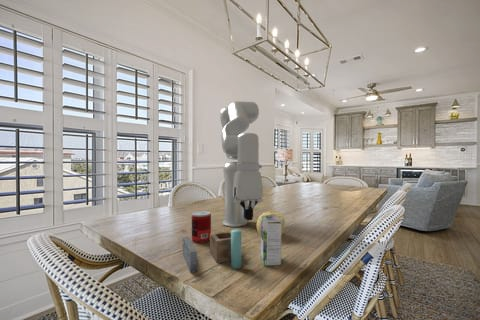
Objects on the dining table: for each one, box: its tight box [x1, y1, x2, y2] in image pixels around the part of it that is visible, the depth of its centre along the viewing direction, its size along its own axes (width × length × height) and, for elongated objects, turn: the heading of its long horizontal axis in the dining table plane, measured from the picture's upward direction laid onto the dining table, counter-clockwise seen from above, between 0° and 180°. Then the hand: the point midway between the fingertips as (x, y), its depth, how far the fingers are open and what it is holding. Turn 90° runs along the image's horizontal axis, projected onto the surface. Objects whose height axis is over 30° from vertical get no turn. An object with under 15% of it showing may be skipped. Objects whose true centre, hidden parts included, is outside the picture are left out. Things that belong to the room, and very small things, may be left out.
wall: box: [182, 236, 198, 274], centre depth 75 cm, size 2×14×6 cm, turn 23°
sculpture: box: [256, 211, 286, 237], centre depth 99 cm, size 12×12×11 cm
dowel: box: [230, 229, 242, 270], centre depth 72 cm, size 3×3×11 cm
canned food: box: [191, 210, 212, 244], centre depth 96 cm, size 8×8×11 cm
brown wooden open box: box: [209, 230, 231, 264], centre depth 79 cm, size 8×8×7 cm
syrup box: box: [260, 215, 282, 267], centre depth 75 cm, size 6×6×14 cm
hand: (248, 219), depth 82 cm, fingers closed
